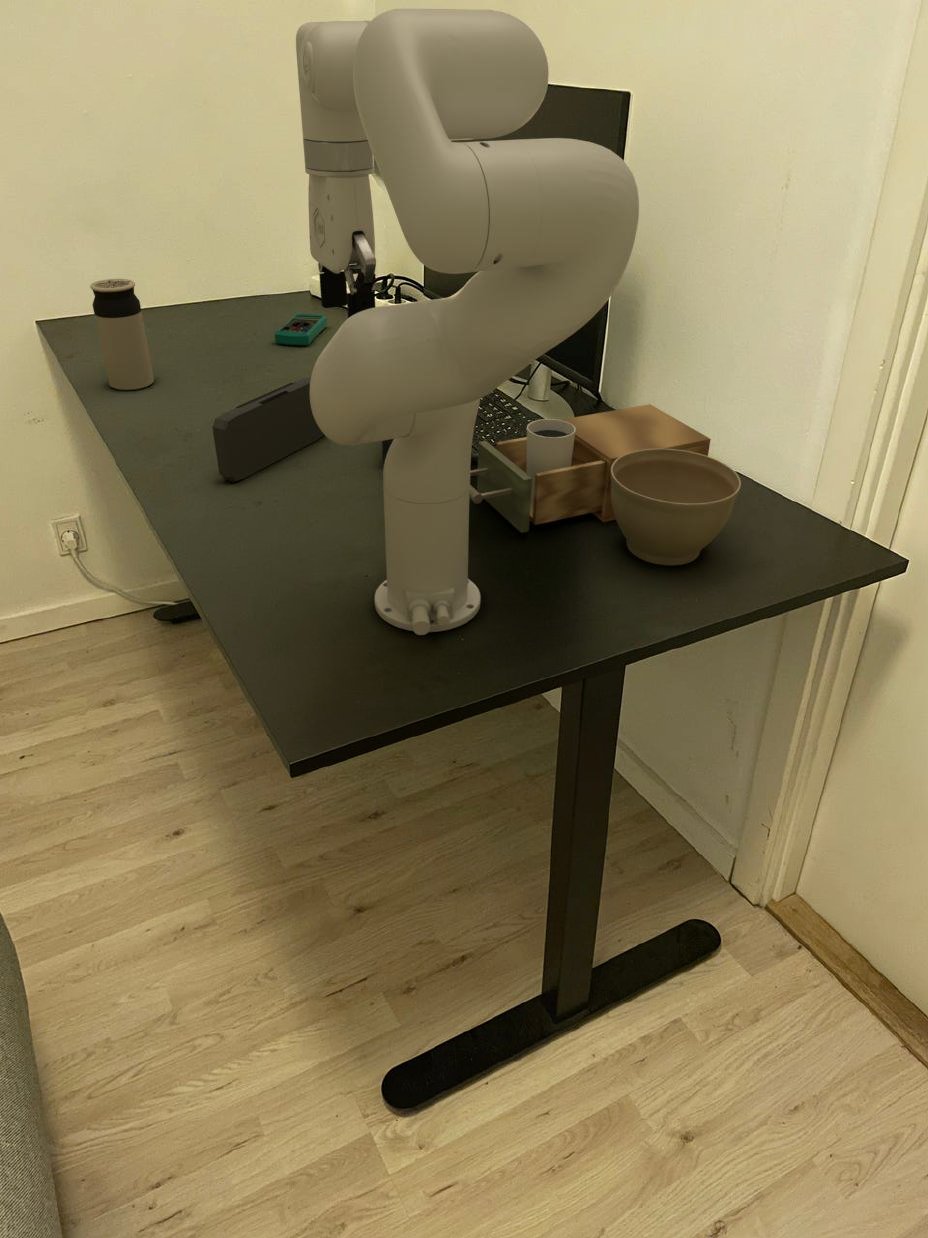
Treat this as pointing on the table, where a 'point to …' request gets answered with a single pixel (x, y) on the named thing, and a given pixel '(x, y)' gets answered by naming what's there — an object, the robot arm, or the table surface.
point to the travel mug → (122, 334)
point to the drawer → (537, 484)
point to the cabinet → (633, 439)
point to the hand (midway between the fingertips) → (348, 316)
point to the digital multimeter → (301, 329)
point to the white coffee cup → (548, 446)
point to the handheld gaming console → (264, 430)
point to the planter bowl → (671, 502)
